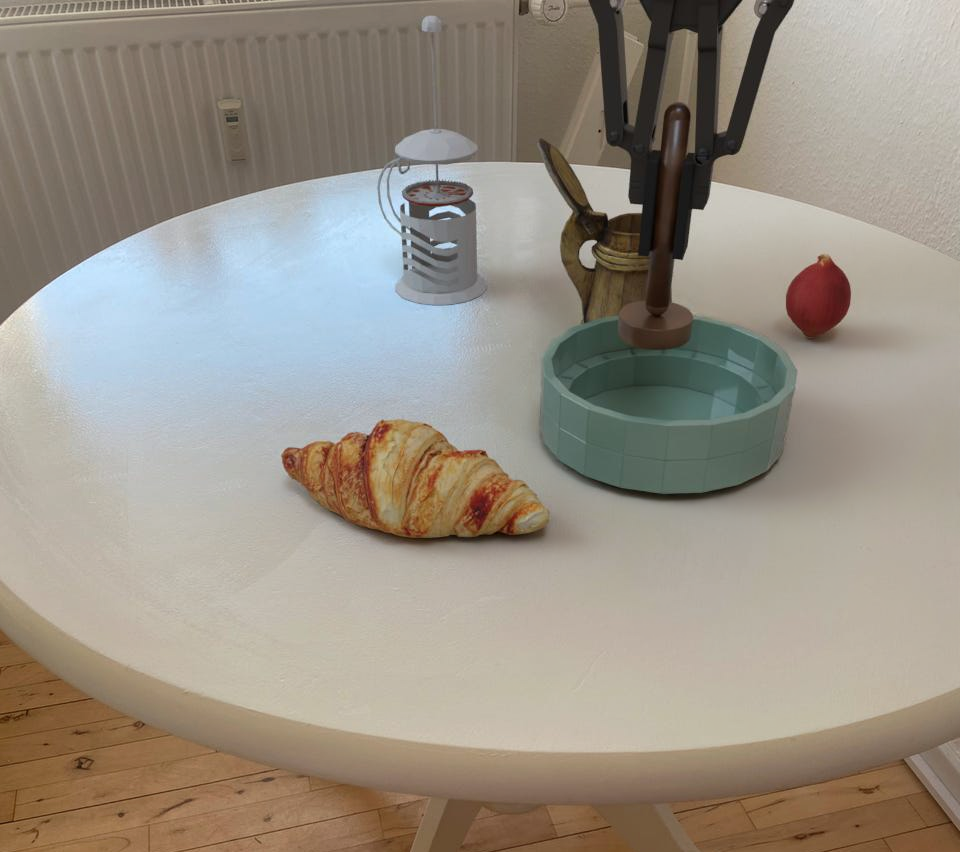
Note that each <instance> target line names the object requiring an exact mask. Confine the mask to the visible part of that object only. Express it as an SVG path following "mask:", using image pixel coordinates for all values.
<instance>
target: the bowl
mask: <svg viewBox="0 0 960 852" xmlns="http://www.w3.org/2000/svg"><path fill="white" fill-rule="evenodd" d="M618 321H619V316H612V317H606V318H600V319H596V320H593V321H590V322H587V323H585V324H582V325H580V324H579V325H577V326H574V327H570V328H568V329H567V330H565V331H564V332H563V333H561V334H560V335H558V336H557V337H556V338H554V339H553V340H551V341H550V342H549V345H548V347H547V348H546V350H545V352H544V354H543V356H542V357H541V359H540V361H541V365H540V399H539V427H540V434H541V439H542V442H543V443H544V445H545V446H546V447H547V448H548V450H549V451H550V452H551V453H552V454H553V456H554V457H555V458H556V459H557V460H558V461H559V462H561V463H562V464H564V465H565V466H568V467H569V468H571V469H572V470H574V471H576V472H578V473H579V474H580V475H582V476H584V477H586V478H590V479H591V480H592V479H593V480H595V481H598V482H601V483H605V484H608V485H611V486H613V487H616V488H619V489H627V490H633V491H640V492H641V491H642V492H647V493H654V494H661V495H666V494H702V493H707V492H711V491H716V490H717V491H718V490H721V489H726V488H730V487H734V486H735V487H736V486H739V485H741V484H743V483H745V482H747V481H749V480H752V479H753V478H755V477H758V476H759V475H761V474H763V473H765V472H767V471H768V470H769V469H770V468H771V467H772V465H774V463H775V462H776V461H777V460H778V459H779V458H780V457H781V455H783V451H784V445H785V440H786V435H787V430H788V425H789V421H790V416H791V411H792V410H791V409H792V405H793V399H794V394H795V392H796V391H795V390H796V384H797V383H796V382H797V375H798V369H797V368H796V366H795V364H794V362H793V361H792V359H791V357H790V355H789V354H788V352H787V351H786V350H784V349H783V348H782V347H780V346H779V345H778V344H776V343H775V342H773V341H772V340H771V339H770V338H768V337H767V336H764V335H763V334H759V333H757V332H755V331H752V330H751V329H748V328H745V327H743V326H742V325H738V324H735V323H731V322H728V321H724V320H720V319H715V318H711V317H708V316H707V317H706V316H703V315H693V324H692V331H691V338H690V340H689V341H688V342H687V343H686V344H684V345H683V346H680V347H677V348H673V349H667V350H649V349H643V348H638V347H634V346H632V345H629V344H627V343H625V342H624V341H622V340H621V339H620V337H619V336H618Z"/></svg>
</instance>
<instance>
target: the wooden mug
mask: <svg viewBox="0 0 960 852" xmlns="http://www.w3.org/2000/svg"><path fill="white" fill-rule="evenodd" d="M537 148H538V150H539V153H540V156H541V159H542V161H543V164H544V167H545V170H546V171H547V173H548V176H549V177H550V179H551V181H552V182H553V184H554V186H555V187H556V189H557V190H558V192H559V193H560V195H561V197H562V198H563V200H564V201H565V204H566V205H567V206H568V207H569V208H570V209H571V210H572V213H571V215H570V216H569V217H568V219H567V221H565V224H564V226H563V229H562V231H561V234H560V243H559V252H560V258H561V263H562V265H563V267H564V270H565V271H566V274H567V275H568V278H569V279H570V281H571V283H572V285H573V286H574V288H575V290H576V292H577V294H578V296H579V298H580V301H581V309H582V310H581V311H582V319H581V320H580V323H579V325H582V324H585V323H587V322H590V321H593V320H596V319H600V318H606V317H612V316H619V312H620V310H621V309H622V308H623V307H624V306H626V305H628V304H630V303H633V302H637V301H645V300H646V291H647V281H648V271H649V261H650V254H649V256H648V257H647V256H638V249H639V238H640V227H641V217H642V212H628V213H623V214H619V215H616V216H613V217H611V218H609V215H608V214H607V213H606V212H602V211H595V210H594V208H593V207H592V206H591V204H590V202H589V200H588V199H589V198H588V196H587V194H586V191H585V189H584V188H583V186H582V183H581V182H580V180H579V178H578V176H577V175H576V173H575V171H574V170H573V167H572V166H571V165H570V163H569V162H568V161H567V159H566V158H565V156H564V155H563V154H562V152H561V151H560V150H559V149H558V148H557V147H555V146H554V145H553V144H552V143H550V142H548V141H547V140H545V139H544V138H542V137H540V138H539V139H538V141H537ZM589 241H595V242H596V243H594V244H592V246H591V255H592V256H593V258H594V259H595V263H594V266H593V267H587V266H585V265H583V263H582V260H581V259H580V250H581V248H582V247H583V245H584V244H585V243H586V242H589ZM672 288H673V287H672V286H671V294H670V302H672V303H673V297H672V296H673V295H672V290H673V289H672Z"/></svg>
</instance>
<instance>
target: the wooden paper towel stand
mask: <svg viewBox="0 0 960 852" xmlns="http://www.w3.org/2000/svg"><path fill="white" fill-rule="evenodd" d="M691 119H692V111H691V109H690V107H689V105H688V104H686V103H684V102H682V101H674V102H672V103H670V104H669V105H668V106H667V107H666V109H665V110H664V114H663V121H662V129H661V130H662V131H661V141H660V142H661V143H660V162H659V172H658V182H657V192H656V202H655V212H654V222H653V232H652V242H651V251H650V261H649V271H648V281H647V291H646V300H645V301H637V302H633V303H630V304H628V305H626V306H624V307H623V308H622V309H621V310H620V312H619V321H618V336H619V337H620V339H621V340H622V341H624V342H625V343H627V344H629V345H632V346H634V347H638V348H643V349H649V350H667V349H673V348H677V347H680V346H683V345H684V344H686V343H687V342H688V341H689V340H690V338H691V331H692V324H693V314H694V313H692V311H691V310H690V309H689V308H688V307H685V306H683V305H681V304H678V303H675V302H673V301H672V302H670V294H671V287H672V284H673V277H674V269H675V268H674V267H675V259H672V255H673V247H674V238H675V229H676V220H677V211H678V202H679V193H680V185H681V176H682V167H683V162H684V160H685V159H686V156H687V154H688V146H689V136H690V127H691Z"/></svg>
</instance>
